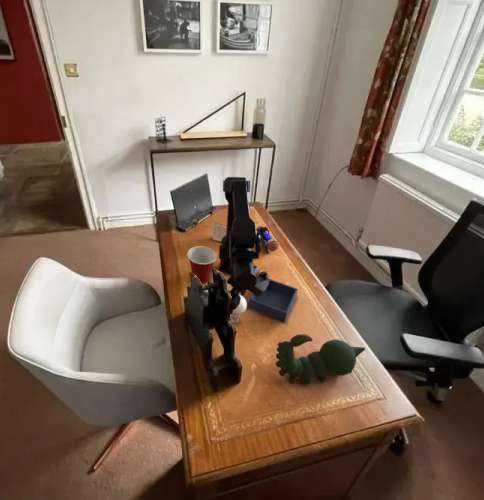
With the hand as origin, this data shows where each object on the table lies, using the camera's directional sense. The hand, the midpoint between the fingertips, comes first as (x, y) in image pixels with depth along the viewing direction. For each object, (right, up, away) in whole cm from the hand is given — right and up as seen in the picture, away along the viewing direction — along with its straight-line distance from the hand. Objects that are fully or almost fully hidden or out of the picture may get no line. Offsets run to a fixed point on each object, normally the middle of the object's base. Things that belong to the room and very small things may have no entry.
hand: (236, 304), depth 99 cm
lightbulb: (0, -7, +5) cm, 8 cm away
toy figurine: (+22, -18, -9) cm, 30 cm away
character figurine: (+16, +19, +41) cm, 48 cm away
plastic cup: (-12, +6, +22) cm, 25 cm away
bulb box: (+14, -2, +13) cm, 19 cm away
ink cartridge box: (-3, +21, +43) cm, 48 cm away
